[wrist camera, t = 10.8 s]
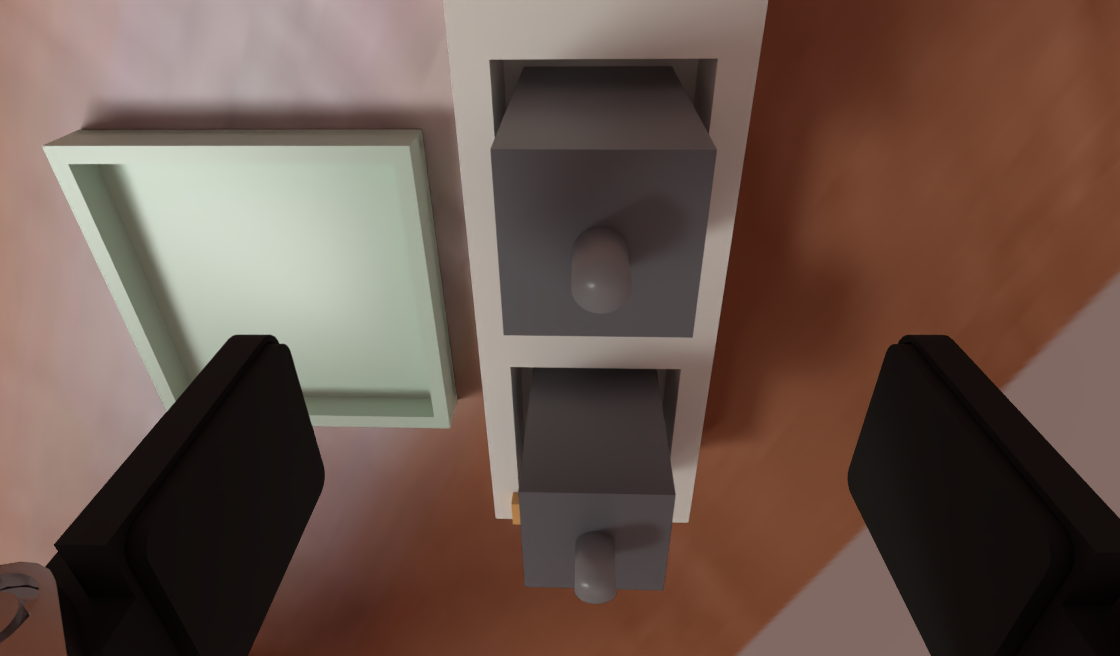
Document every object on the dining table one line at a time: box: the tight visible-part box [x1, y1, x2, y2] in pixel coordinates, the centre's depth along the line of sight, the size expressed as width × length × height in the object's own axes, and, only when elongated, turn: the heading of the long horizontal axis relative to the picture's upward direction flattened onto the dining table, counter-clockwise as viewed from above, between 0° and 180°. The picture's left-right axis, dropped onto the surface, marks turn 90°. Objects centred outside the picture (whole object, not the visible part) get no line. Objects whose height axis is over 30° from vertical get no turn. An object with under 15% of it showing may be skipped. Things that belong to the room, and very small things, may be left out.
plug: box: [490, 66, 717, 338], centre depth 16 cm, size 4×4×10 cm
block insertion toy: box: [443, 0, 768, 604], centre depth 20 cm, size 8×20×11 cm, turn 1°
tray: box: [42, 129, 457, 428], centre depth 24 cm, size 12×12×2 cm
